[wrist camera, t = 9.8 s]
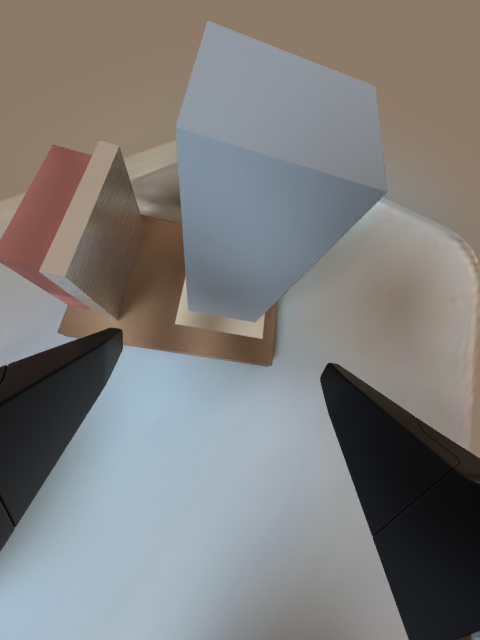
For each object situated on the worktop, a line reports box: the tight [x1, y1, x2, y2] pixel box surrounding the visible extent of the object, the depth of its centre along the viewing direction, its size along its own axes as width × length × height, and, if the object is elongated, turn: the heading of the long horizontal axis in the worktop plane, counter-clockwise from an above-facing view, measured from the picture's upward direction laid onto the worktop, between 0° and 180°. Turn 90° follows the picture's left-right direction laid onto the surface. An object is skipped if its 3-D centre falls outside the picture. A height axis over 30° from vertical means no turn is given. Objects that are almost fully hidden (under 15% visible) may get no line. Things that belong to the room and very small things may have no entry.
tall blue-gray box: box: [175, 21, 387, 322], centre depth 12 cm, size 4×6×13 cm
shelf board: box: [0, 141, 277, 366], centre depth 15 cm, size 16×11×8 cm
